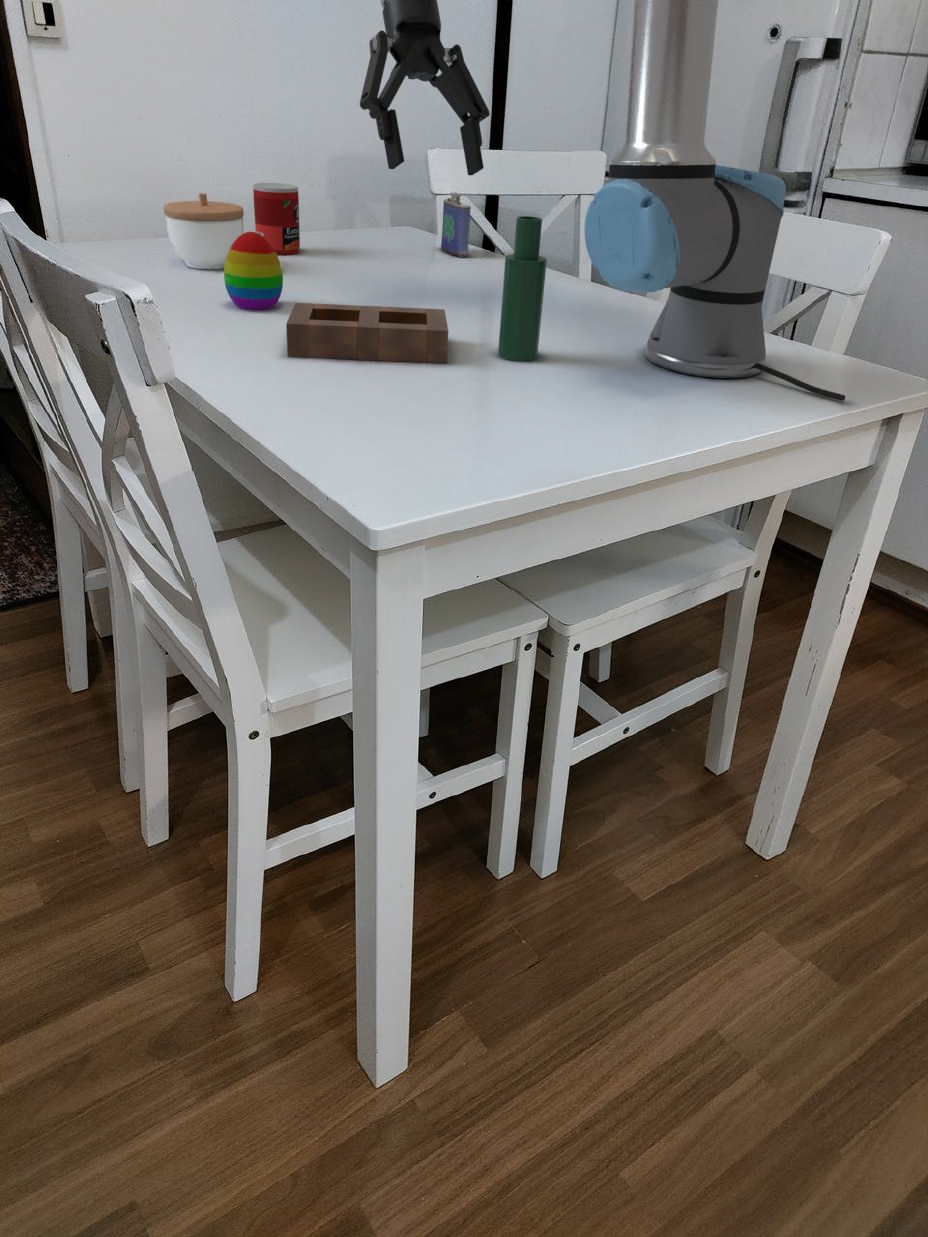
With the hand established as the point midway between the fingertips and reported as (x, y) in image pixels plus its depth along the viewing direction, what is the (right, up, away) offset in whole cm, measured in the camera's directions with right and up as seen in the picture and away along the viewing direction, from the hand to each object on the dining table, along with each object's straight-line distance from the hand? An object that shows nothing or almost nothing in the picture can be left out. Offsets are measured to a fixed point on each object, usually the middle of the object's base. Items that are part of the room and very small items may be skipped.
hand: (437, 168), depth 128 cm
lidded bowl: (-39, -2, +29) cm, 49 cm away
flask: (+2, +9, +52) cm, 53 cm away
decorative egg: (-27, -16, +7) cm, 32 cm away
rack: (-9, -27, -8) cm, 30 cm away
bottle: (+11, -28, -7) cm, 31 cm away
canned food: (-30, +6, +43) cm, 53 cm away
